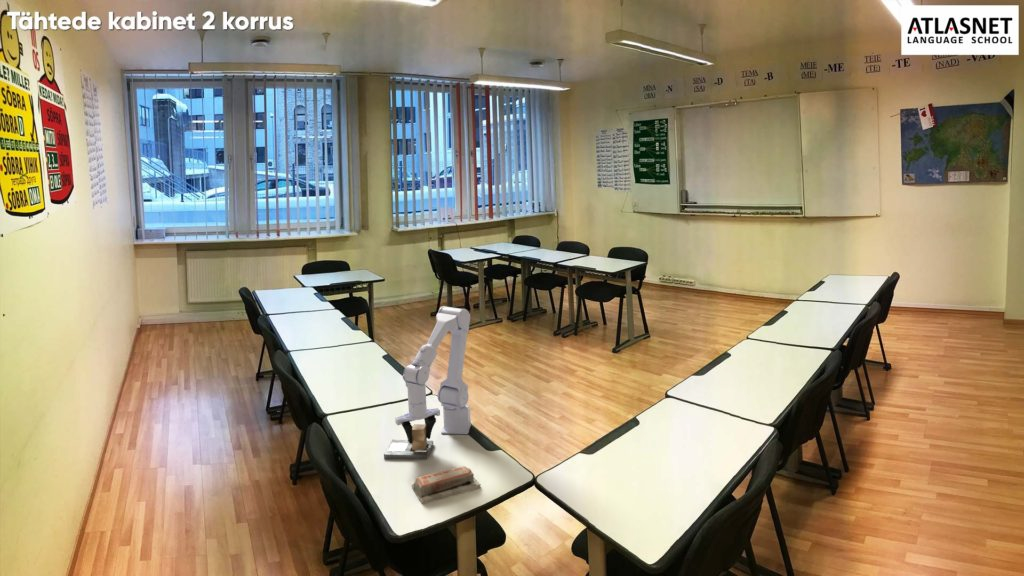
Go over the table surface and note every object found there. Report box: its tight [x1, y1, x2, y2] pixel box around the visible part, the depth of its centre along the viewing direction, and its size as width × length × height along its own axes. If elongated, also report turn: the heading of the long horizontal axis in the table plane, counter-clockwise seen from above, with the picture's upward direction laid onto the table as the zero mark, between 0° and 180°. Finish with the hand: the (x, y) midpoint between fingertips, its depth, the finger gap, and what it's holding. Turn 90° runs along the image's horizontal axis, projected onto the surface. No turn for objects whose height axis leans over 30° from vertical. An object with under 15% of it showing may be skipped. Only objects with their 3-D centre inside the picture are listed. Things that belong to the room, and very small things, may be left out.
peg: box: [412, 423, 428, 451], centre depth 194 cm, size 4×4×7 cm
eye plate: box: [383, 439, 434, 461], centre depth 195 cm, size 14×10×2 cm
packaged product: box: [411, 466, 481, 504], centre depth 173 cm, size 18×5×10 cm
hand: (419, 439), depth 194 cm, fingers closed on peg, 5 cm apart
